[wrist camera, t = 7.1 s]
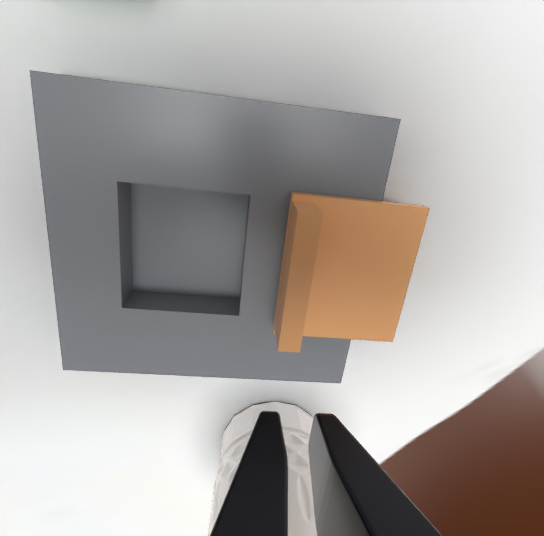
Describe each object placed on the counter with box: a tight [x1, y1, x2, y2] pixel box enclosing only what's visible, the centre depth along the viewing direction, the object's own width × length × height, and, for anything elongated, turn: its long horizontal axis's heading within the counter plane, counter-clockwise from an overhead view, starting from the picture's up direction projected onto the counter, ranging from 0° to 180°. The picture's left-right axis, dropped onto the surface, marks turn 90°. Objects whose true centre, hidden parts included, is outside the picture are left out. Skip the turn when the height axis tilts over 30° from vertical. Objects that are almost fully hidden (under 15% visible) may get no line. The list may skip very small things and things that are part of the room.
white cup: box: [207, 402, 317, 536], centre depth 21 cm, size 8×8×10 cm
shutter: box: [273, 192, 429, 353], centre depth 17 cm, size 6×7×2 cm
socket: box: [30, 70, 401, 383], centre depth 19 cm, size 15×14×2 cm
